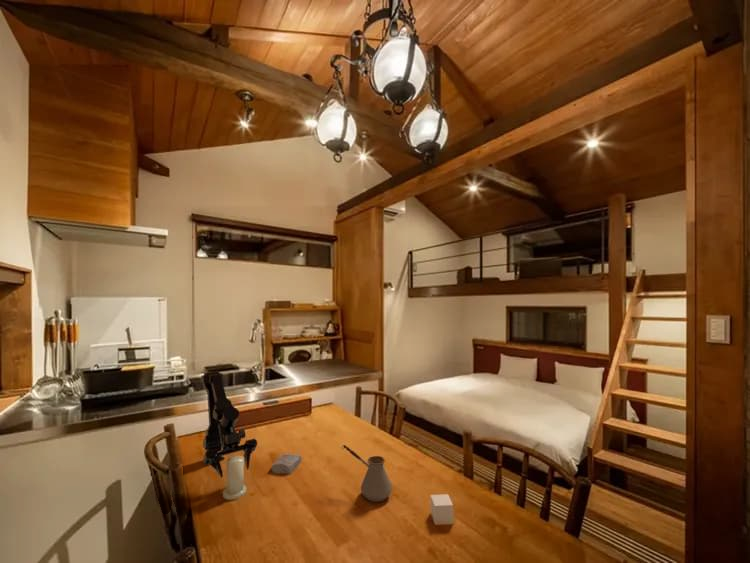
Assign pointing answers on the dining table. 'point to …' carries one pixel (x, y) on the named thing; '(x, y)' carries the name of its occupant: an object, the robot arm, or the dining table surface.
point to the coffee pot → (374, 478)
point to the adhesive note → (441, 509)
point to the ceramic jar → (234, 478)
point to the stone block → (286, 463)
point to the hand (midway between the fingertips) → (235, 473)
